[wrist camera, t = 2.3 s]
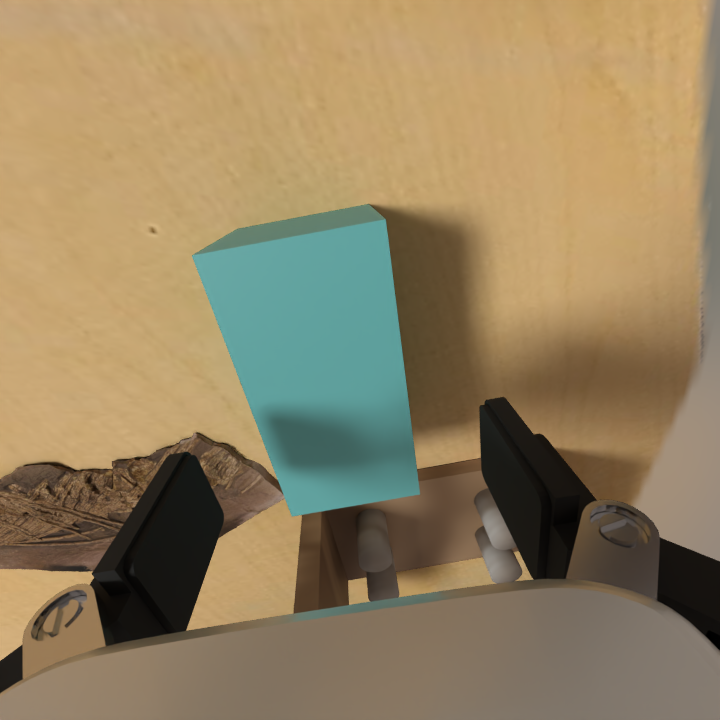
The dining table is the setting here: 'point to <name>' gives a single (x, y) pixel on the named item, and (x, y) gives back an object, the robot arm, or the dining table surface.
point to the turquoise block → (318, 353)
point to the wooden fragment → (111, 504)
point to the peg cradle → (403, 538)
